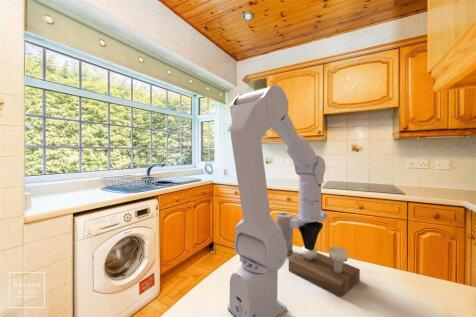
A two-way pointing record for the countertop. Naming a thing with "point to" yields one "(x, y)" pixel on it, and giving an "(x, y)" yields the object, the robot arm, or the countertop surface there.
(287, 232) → the energy drink
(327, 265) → the block
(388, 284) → the countertop surface
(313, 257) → the knob far
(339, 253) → the knob near
